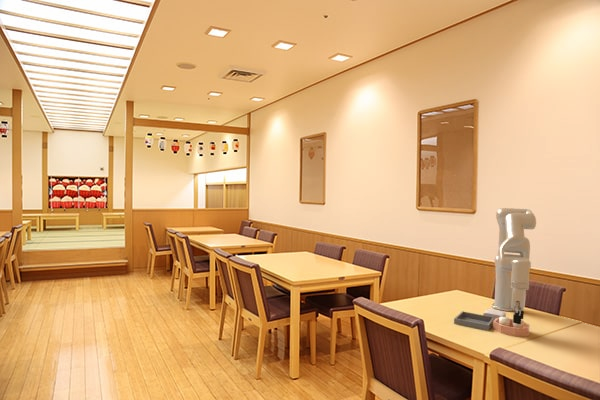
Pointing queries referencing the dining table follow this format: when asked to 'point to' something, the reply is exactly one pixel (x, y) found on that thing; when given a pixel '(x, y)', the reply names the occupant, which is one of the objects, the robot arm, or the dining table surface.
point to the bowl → (511, 328)
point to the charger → (494, 313)
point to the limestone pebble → (504, 321)
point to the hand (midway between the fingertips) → (518, 320)
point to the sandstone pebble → (518, 325)
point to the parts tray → (474, 320)
